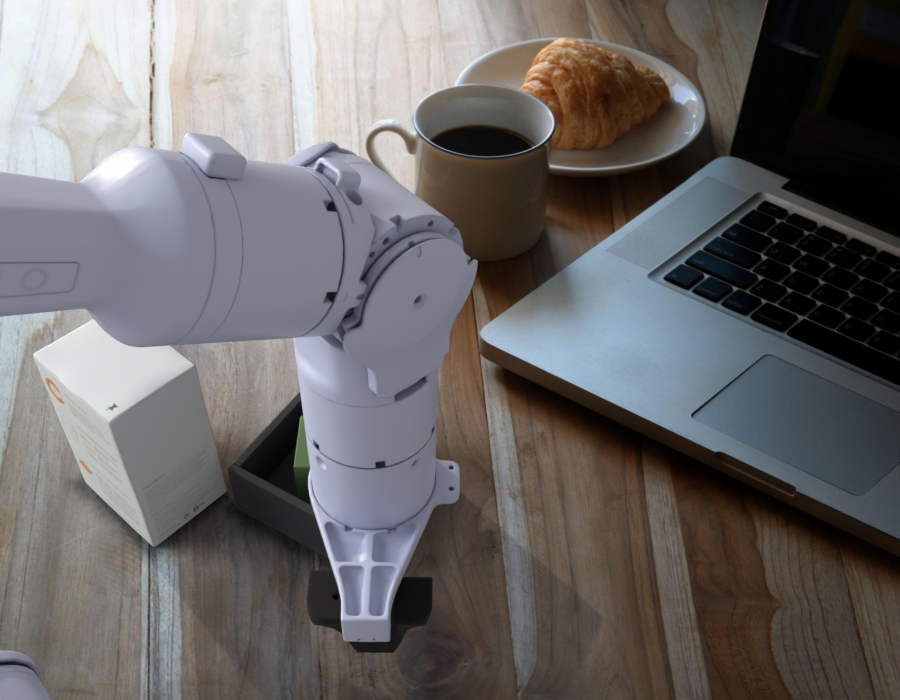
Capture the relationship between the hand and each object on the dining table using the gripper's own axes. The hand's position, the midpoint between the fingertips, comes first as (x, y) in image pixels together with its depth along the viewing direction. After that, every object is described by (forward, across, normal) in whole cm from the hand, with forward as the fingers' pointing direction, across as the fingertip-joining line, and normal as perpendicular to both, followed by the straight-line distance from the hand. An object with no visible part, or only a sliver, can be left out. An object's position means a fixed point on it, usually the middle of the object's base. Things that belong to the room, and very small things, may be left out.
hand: (379, 578), depth 50 cm
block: (+9, +13, +4) cm, 16 cm away
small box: (+10, +12, +16) cm, 23 cm away
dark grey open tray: (+9, +13, +4) cm, 16 cm away
